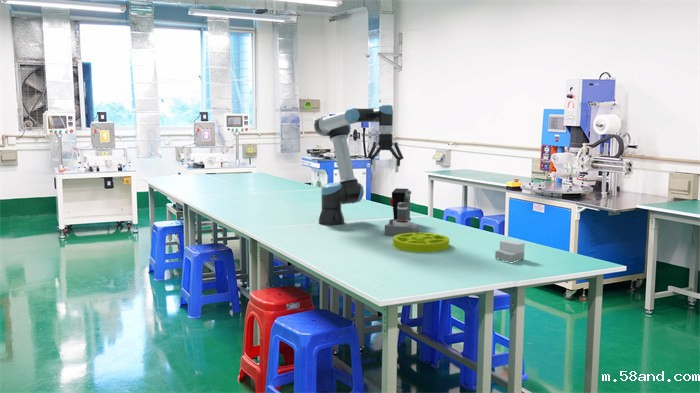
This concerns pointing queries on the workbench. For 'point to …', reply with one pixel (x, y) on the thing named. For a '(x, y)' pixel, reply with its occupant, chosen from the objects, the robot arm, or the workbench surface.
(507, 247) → the foam block
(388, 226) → the plate with octagonal ring
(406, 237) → the pulley
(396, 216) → the electrical component
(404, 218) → the lens
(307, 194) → the workbench surface
